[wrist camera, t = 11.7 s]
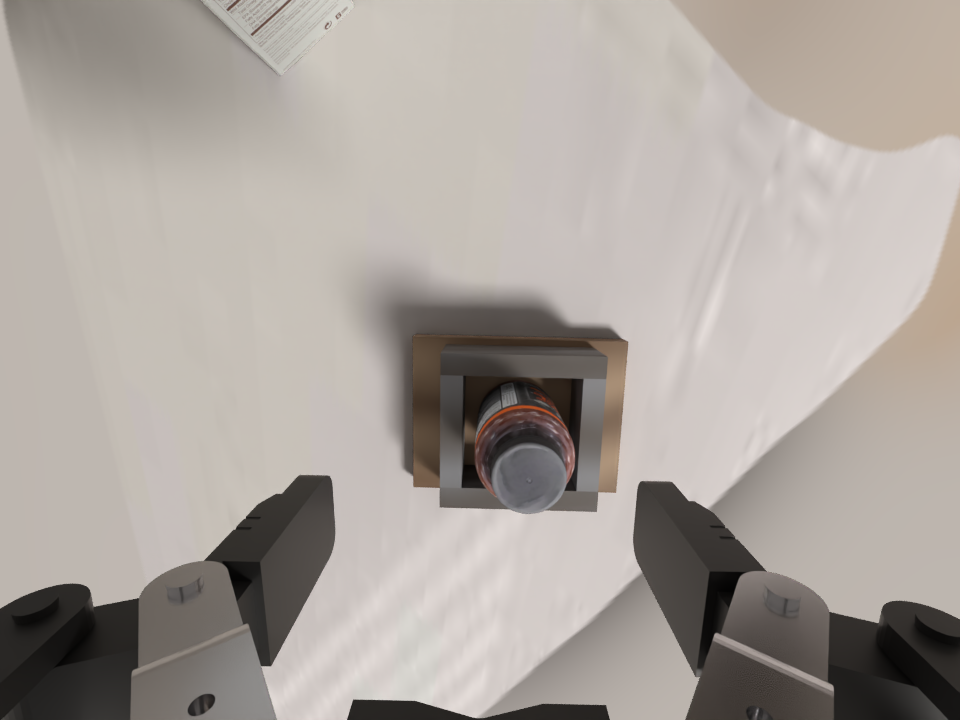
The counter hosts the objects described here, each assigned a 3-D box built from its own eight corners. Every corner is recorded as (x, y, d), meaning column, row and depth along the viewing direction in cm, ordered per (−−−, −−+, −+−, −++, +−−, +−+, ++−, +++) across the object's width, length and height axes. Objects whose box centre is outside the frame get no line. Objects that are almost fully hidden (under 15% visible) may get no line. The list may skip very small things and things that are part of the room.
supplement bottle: (571, 417, 34) (611, 484, 23) (513, 467, 35) (526, 555, 24) (518, 361, 34) (534, 403, 23) (461, 413, 34) (448, 478, 23)
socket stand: (415, 334, 35) (402, 344, 30) (622, 339, 35) (647, 350, 29) (416, 478, 37) (404, 512, 32) (610, 484, 37) (631, 519, 32)
